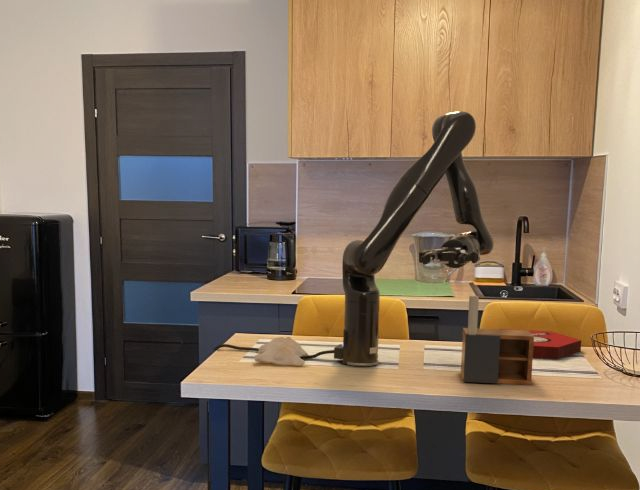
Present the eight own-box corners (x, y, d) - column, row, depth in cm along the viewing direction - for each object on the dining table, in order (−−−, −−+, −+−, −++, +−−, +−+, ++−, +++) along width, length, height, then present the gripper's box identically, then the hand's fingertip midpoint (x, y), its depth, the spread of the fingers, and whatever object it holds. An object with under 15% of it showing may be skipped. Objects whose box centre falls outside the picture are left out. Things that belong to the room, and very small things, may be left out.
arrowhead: (252, 348, 195) (266, 326, 225) (252, 367, 196) (266, 342, 225) (306, 351, 194) (313, 328, 223) (305, 370, 195) (312, 345, 224)
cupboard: (463, 381, 181) (465, 333, 180) (460, 373, 189) (462, 327, 187) (531, 384, 179) (534, 336, 177) (525, 377, 187) (528, 330, 185)
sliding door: (463, 382, 179) (468, 296, 176) (463, 380, 181) (467, 295, 178) (497, 384, 178) (502, 297, 175) (496, 381, 180) (501, 296, 177)
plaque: (461, 341, 232) (516, 361, 204) (462, 330, 232) (517, 349, 203) (535, 337, 240) (598, 357, 211) (536, 327, 239) (599, 345, 210)
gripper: (431, 237, 193) (412, 244, 179) (486, 236, 186) (471, 244, 172) (431, 265, 194) (413, 275, 180) (486, 266, 188) (471, 276, 174)
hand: (441, 260), depth 176 cm, fingers open, 8 cm apart
